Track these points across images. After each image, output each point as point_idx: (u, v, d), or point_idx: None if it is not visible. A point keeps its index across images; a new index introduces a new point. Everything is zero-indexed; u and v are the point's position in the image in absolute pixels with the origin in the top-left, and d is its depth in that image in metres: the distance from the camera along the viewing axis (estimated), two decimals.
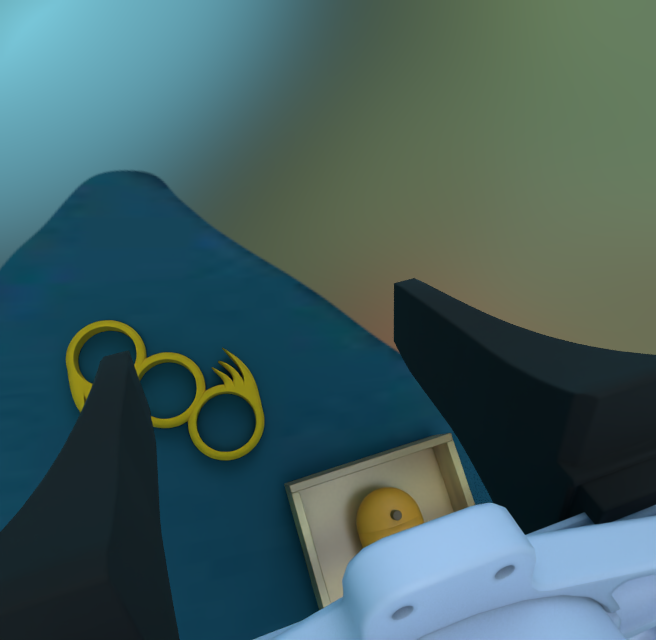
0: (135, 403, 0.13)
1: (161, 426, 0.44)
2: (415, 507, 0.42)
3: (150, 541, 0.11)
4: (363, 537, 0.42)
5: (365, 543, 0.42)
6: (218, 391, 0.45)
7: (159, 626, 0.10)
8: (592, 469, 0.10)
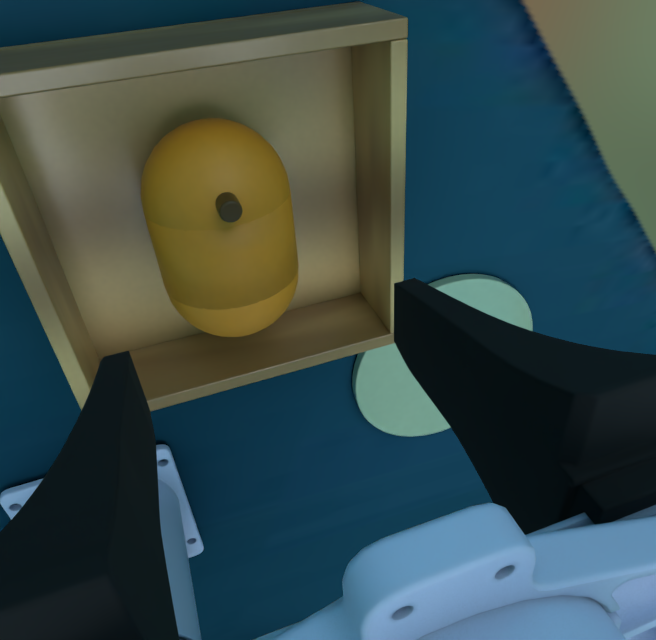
0: (135, 403, 0.13)
1: None
2: (280, 185, 0.18)
3: (150, 541, 0.11)
4: (151, 227, 0.19)
5: (154, 239, 0.19)
6: None
7: (159, 626, 0.10)
8: (592, 469, 0.10)
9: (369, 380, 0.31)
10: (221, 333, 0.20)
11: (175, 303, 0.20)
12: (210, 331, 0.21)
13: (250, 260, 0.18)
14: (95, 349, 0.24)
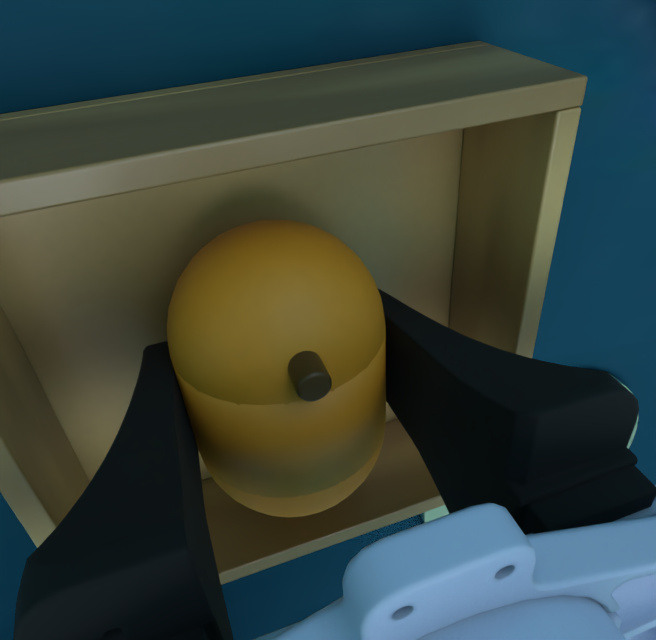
0: (180, 391, 0.13)
1: None
2: (378, 325, 0.12)
3: (202, 524, 0.11)
4: (182, 385, 0.12)
5: (187, 400, 0.13)
6: None
7: (217, 605, 0.10)
8: (539, 488, 0.10)
9: None
10: (279, 516, 0.14)
11: (214, 477, 0.14)
12: None
13: (332, 436, 0.12)
14: None
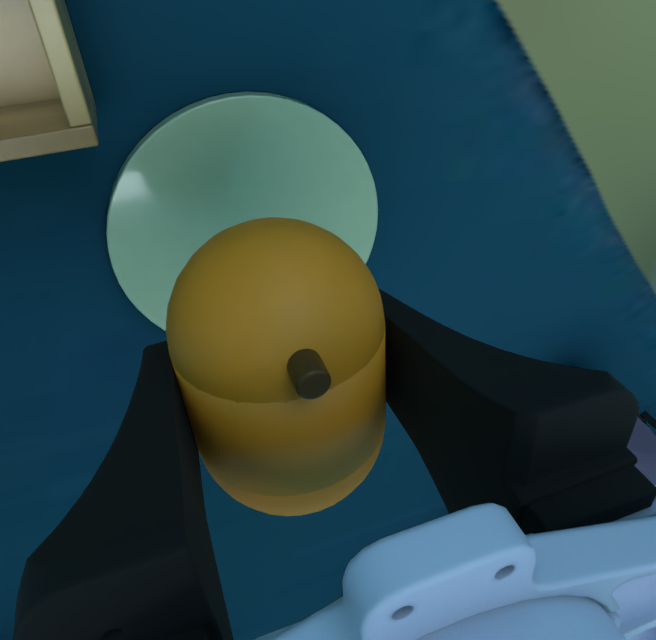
0: (180, 391, 0.13)
1: None
2: (377, 323, 0.12)
3: (202, 524, 0.11)
4: (182, 383, 0.12)
5: (186, 399, 0.13)
6: None
7: (217, 605, 0.10)
8: (539, 489, 0.10)
9: (130, 251, 0.22)
10: None
11: (214, 476, 0.14)
12: (263, 511, 0.14)
13: (332, 434, 0.12)
14: None
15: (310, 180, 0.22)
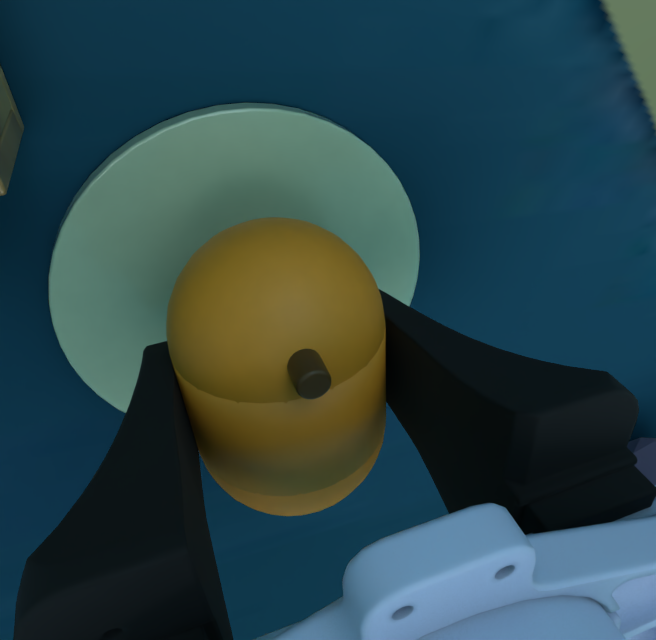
0: (180, 391, 0.13)
1: None
2: (378, 323, 0.12)
3: (202, 524, 0.11)
4: (182, 383, 0.12)
5: (187, 399, 0.13)
6: None
7: (217, 605, 0.10)
8: (539, 489, 0.10)
9: (83, 323, 0.16)
10: (279, 514, 0.14)
11: (214, 476, 0.14)
12: (263, 511, 0.14)
13: (332, 434, 0.12)
14: None
15: (332, 222, 0.16)
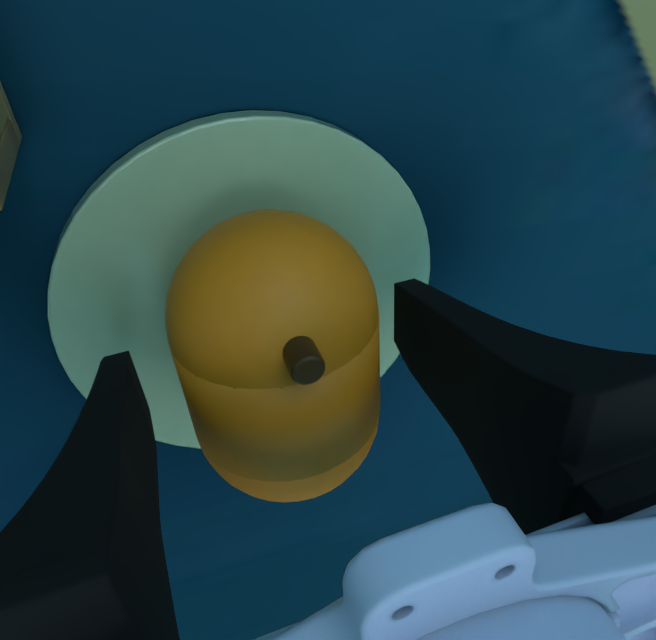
0: (135, 403, 0.13)
1: None
2: (371, 312, 0.13)
3: (150, 541, 0.11)
4: (180, 371, 0.13)
5: (185, 386, 0.13)
6: None
7: (159, 626, 0.10)
8: (592, 469, 0.10)
9: (84, 338, 0.15)
10: (275, 501, 0.15)
11: (212, 463, 0.14)
12: (260, 498, 0.15)
13: (326, 420, 0.13)
14: None
15: (340, 233, 0.16)
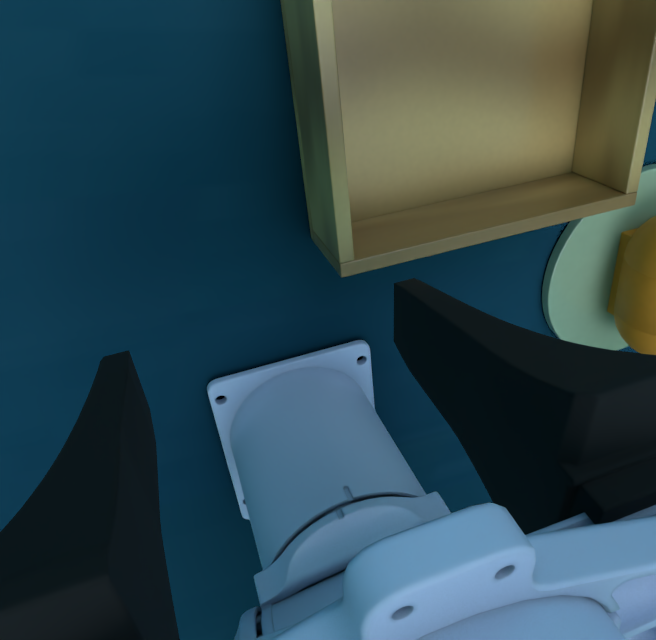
0: (135, 403, 0.13)
1: None
2: None
3: (150, 541, 0.11)
4: (650, 283, 0.27)
5: (649, 292, 0.27)
6: None
7: (159, 626, 0.10)
8: (592, 469, 0.10)
9: (563, 279, 0.30)
10: None
11: (645, 336, 0.28)
12: None
13: None
14: None
15: None
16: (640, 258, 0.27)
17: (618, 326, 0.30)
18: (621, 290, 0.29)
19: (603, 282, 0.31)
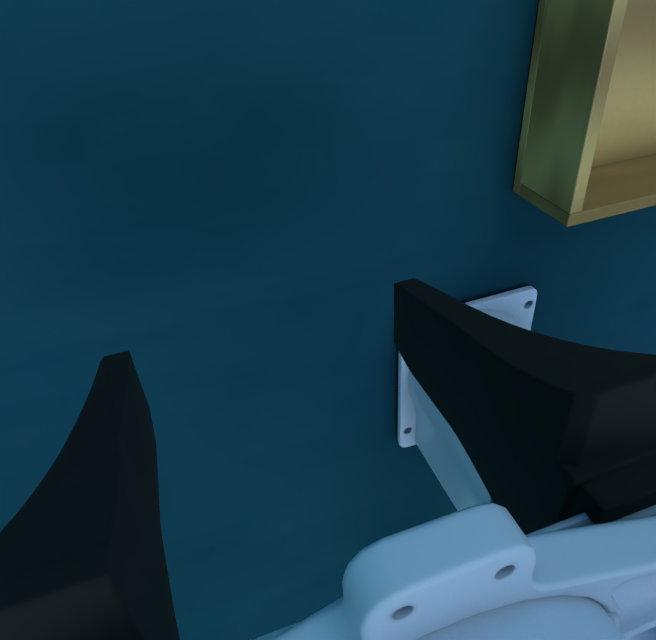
0: (135, 403, 0.13)
1: None
2: None
3: (150, 541, 0.11)
4: None
5: None
6: None
7: (159, 626, 0.10)
8: (592, 469, 0.10)
9: None
10: None
11: None
12: None
13: None
14: None
15: None
16: None
17: None
18: None
19: None
